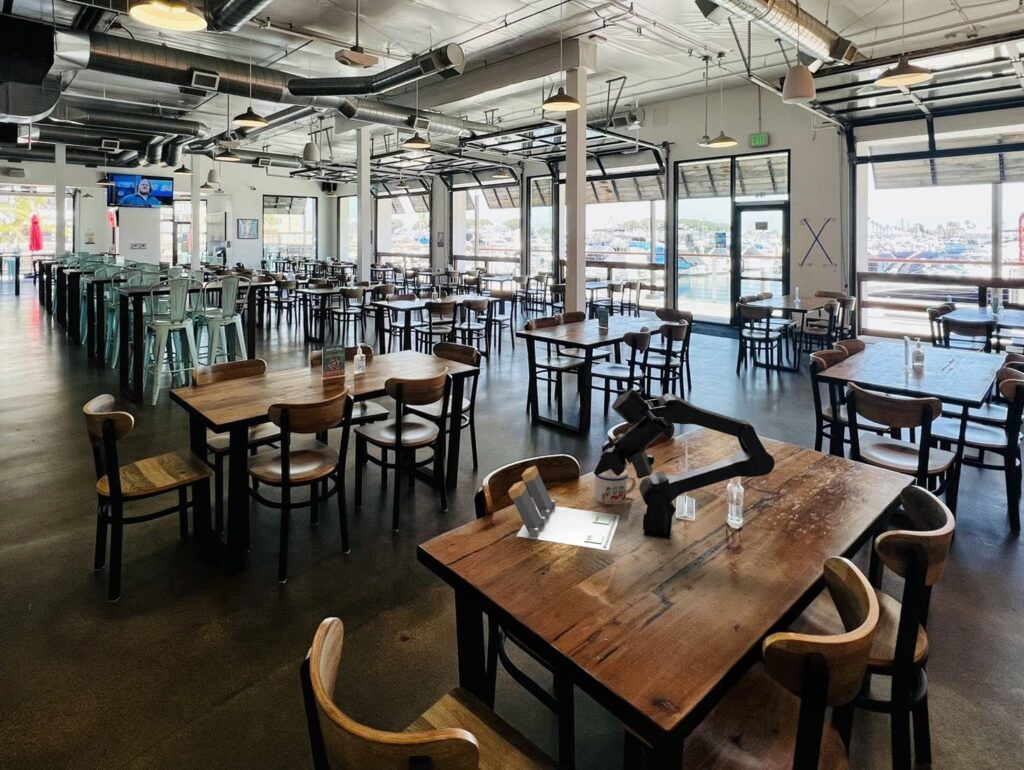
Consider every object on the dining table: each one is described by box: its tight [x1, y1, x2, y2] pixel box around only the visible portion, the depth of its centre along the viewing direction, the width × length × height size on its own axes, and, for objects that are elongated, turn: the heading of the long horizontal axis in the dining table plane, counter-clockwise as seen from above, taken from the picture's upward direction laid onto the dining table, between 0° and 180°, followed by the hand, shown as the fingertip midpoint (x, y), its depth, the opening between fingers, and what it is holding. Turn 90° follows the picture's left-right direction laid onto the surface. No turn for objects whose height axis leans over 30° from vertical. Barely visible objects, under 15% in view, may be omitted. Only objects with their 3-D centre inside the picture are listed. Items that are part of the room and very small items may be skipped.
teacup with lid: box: [593, 469, 637, 505], centre depth 176 cm, size 12×9×12 cm
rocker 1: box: [521, 465, 553, 514], centre depth 166 cm, size 3×5×11 cm, turn 163°
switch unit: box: [516, 499, 621, 551], centre depth 160 cm, size 22×20×4 cm
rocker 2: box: [507, 480, 542, 533], centre depth 156 cm, size 3×5×11 cm, turn 163°
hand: (595, 473), depth 161 cm, fingers closed
